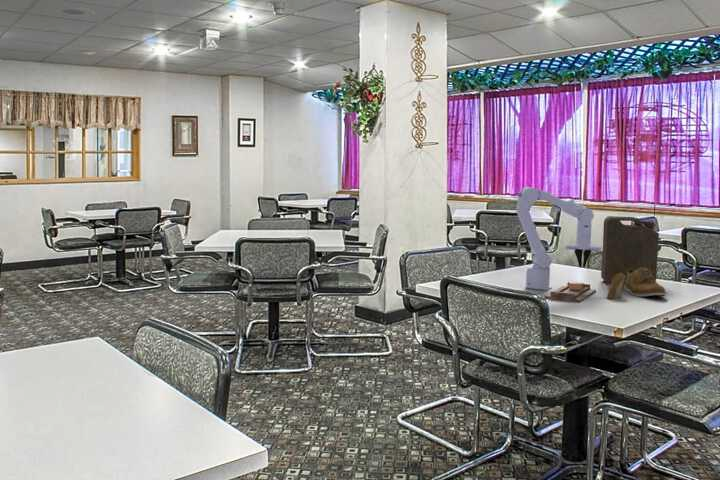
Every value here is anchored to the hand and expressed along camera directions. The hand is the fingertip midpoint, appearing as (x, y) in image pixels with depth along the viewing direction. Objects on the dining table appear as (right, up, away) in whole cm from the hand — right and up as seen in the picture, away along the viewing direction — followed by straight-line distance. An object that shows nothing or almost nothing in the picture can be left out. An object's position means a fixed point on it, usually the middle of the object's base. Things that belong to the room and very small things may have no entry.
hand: (582, 267), depth 285 cm
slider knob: (-5, -9, -7) cm, 12 cm away
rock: (+7, -12, -16) cm, 21 cm away
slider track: (-9, -11, -13) cm, 19 cm away
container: (+26, -8, +16) cm, 32 cm away
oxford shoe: (+22, -11, -9) cm, 26 cm away
